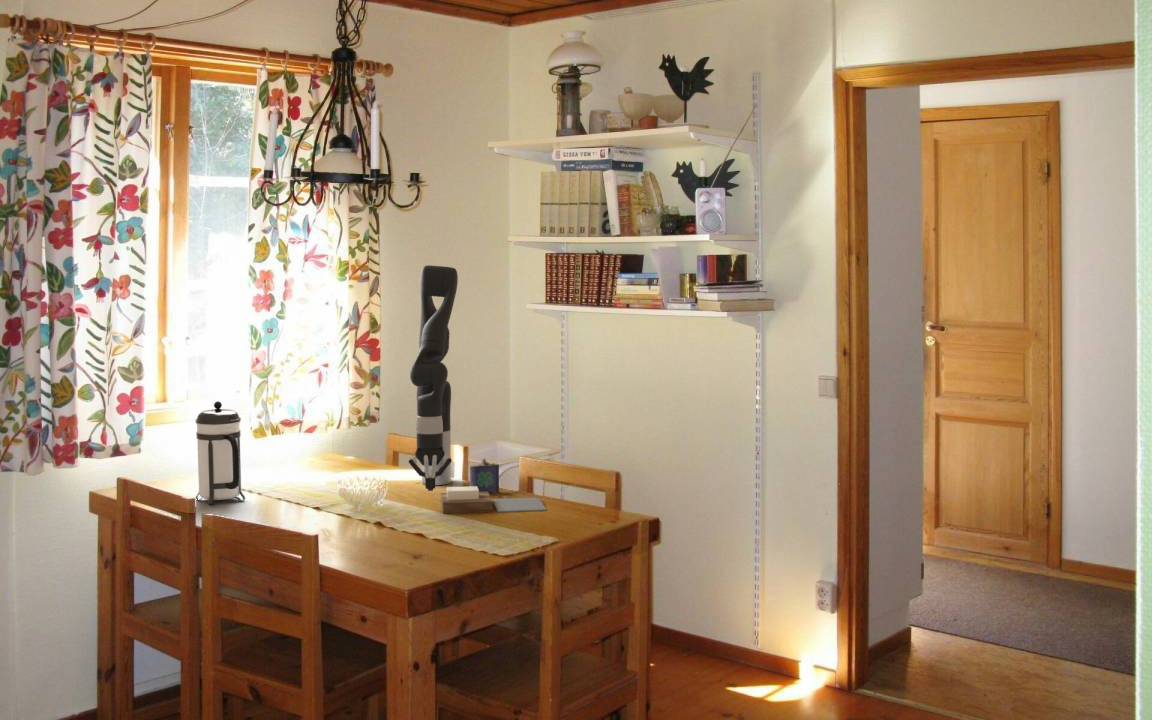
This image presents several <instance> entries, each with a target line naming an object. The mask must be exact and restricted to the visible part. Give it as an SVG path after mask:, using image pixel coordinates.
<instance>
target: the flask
mask: <svg viewBox="0 0 1152 720" xmlns="http://www.w3.org/2000/svg"><path fill="white" fill-rule="evenodd" d="M486 460H487V459H486V458H483V459H481V461H482V462H481V464H472V465H470V466H469V487H470V486H477V487H478V490H479V492H487V491H488V493H489V495H491V494H498V493H500V464H498V463H495V462H491V463H490V462H487V461H486Z"/></svg>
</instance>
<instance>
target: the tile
mask: <svg viewBox="0 0 1152 720" xmlns="http://www.w3.org/2000/svg"><path fill="white" fill-rule="evenodd" d="M445 490H446V493H447V499H448V500H462V499H479V490H478V487H477V486H470V485H469V486H447V487H446V489H445Z"/></svg>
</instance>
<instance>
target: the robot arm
mask: <svg viewBox="0 0 1152 720" xmlns="http://www.w3.org/2000/svg"><path fill="white" fill-rule="evenodd" d="M458 276H459V275H458V271H457V269H456V268H454V267H450V266H442V265H430V264H429V265H424V266H423V267H422V269H421V271H420V278H419V279H420V280H419V287H420V289H419V292H420V293H419V294H420V295H419V296H420V322H419V323H420V325H419V341H418V342H419V343H418V345H419V346H418V347H419V351H418V353H417V356H416V358H415V360H414V362H413V364H412V367H411V369H410V371H409V373H410V374H409V375H410V377H409V378H410V382H411V383H412V384H413V385H414V386H415V387H417V388H416V402H417V403H416V408H417V409H416V412H417V413H416V415H417V416H416V430H415V431H416V450H415V452H414V455H413V456H412V457H410V458H409V459H408V464H409V465H410V466H411V467H412V468H413V470H414V471H415V472H416V474H418V476H419V477H422V478H421V481H422V485H423V484H424V485H425V486H424V487H425V489H426V490H427V491H428V492H433V491H434V490H435V489H436V486H442V485H443V486H444V485H448V484H450V483H452V471H451V470H452V461H453V459H452V458H451V457H452V455H451V453H452V451H451V450H452V449H451V446H452V445H451V444H452V443H451V406H452V404H451V403H452V387H451V383H450V382H449V381H448V375H449V371H448V368H447V366H446V364H445V363H443V362H442V361H443V360H444V359H445V358H446V356H447V354H448V352H449V350H450V329H449V322H450V318H451V315H452V311H453V308H454V303H455V299H456V294H457V289H458V282H459V280H458V279H459V277H458ZM433 297H436V298H437V297H438V298H443V299H442V300H443V301H442V303H441V305H440V306H439V307H438V309H437V308H436V306H435V303H434V301H433ZM418 461H419V463H420V464H421V467H422V468H420V467H419V465H418Z"/></svg>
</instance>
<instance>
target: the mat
mask: <svg viewBox="0 0 1152 720" xmlns="http://www.w3.org/2000/svg"><path fill="white" fill-rule="evenodd" d="M492 504H493V505H494V507H495V509H496V511H497V513H515V512H516V513H517V512H518V513H519V512H521V513H522V512H523V513H524V512H543V511H544V512H545V511H547V508H546V507H545V505H544V503H543V502H542V501H541V499H540V497H520V498H519V497H518V498H517V497H515V498H493V499H492Z"/></svg>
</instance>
